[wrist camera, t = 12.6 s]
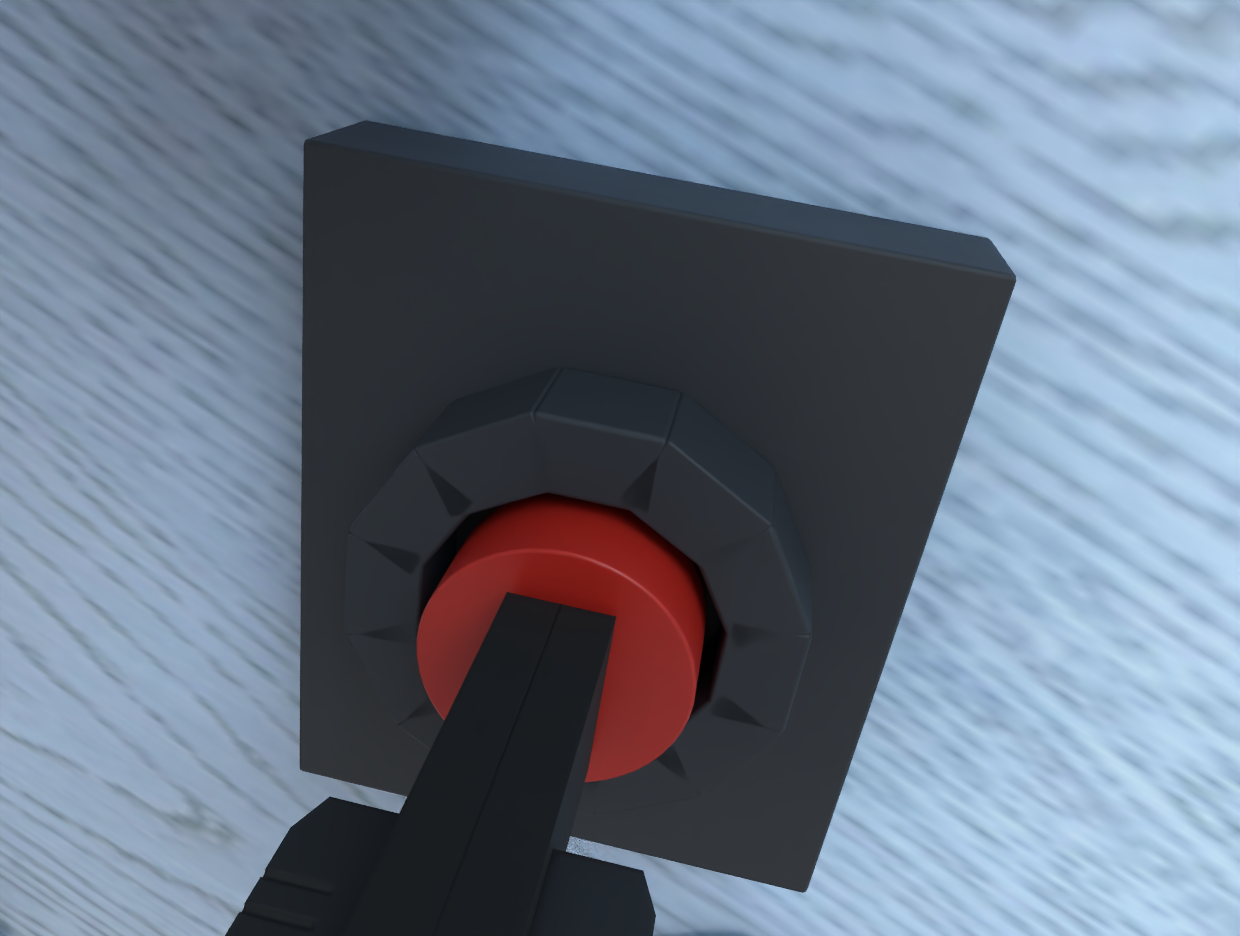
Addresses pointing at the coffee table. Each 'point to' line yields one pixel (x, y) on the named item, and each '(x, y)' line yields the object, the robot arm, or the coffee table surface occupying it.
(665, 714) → the power button
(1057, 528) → the coffee table surface
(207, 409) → the coffee table surface
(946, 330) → the power box
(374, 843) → the robot arm
